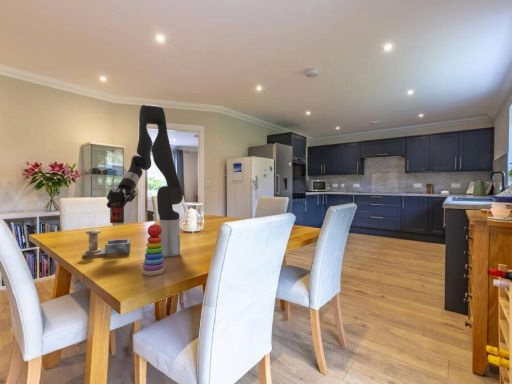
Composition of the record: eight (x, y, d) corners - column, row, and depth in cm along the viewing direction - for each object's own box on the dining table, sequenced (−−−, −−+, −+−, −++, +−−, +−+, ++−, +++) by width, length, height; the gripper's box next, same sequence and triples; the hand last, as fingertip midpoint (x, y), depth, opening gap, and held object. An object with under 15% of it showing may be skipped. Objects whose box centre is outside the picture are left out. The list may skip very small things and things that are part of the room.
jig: (130, 249, 134) (130, 227, 133) (129, 254, 123) (129, 230, 123) (87, 252, 126) (86, 229, 126) (82, 258, 116) (81, 233, 115)
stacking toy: (157, 277, 93) (156, 226, 93) (137, 275, 95) (137, 225, 95) (168, 270, 101) (168, 223, 101) (150, 268, 103) (150, 222, 102)
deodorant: (107, 222, 124) (106, 192, 123) (117, 221, 130) (116, 191, 129) (117, 223, 122) (116, 192, 122) (126, 221, 128) (126, 191, 127)
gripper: (113, 177, 133) (96, 201, 122) (139, 177, 132) (125, 202, 120) (119, 187, 139) (104, 211, 127) (144, 187, 137) (131, 212, 126)
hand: (114, 206), depth 124 cm, fingers closed on deodorant, 6 cm apart
